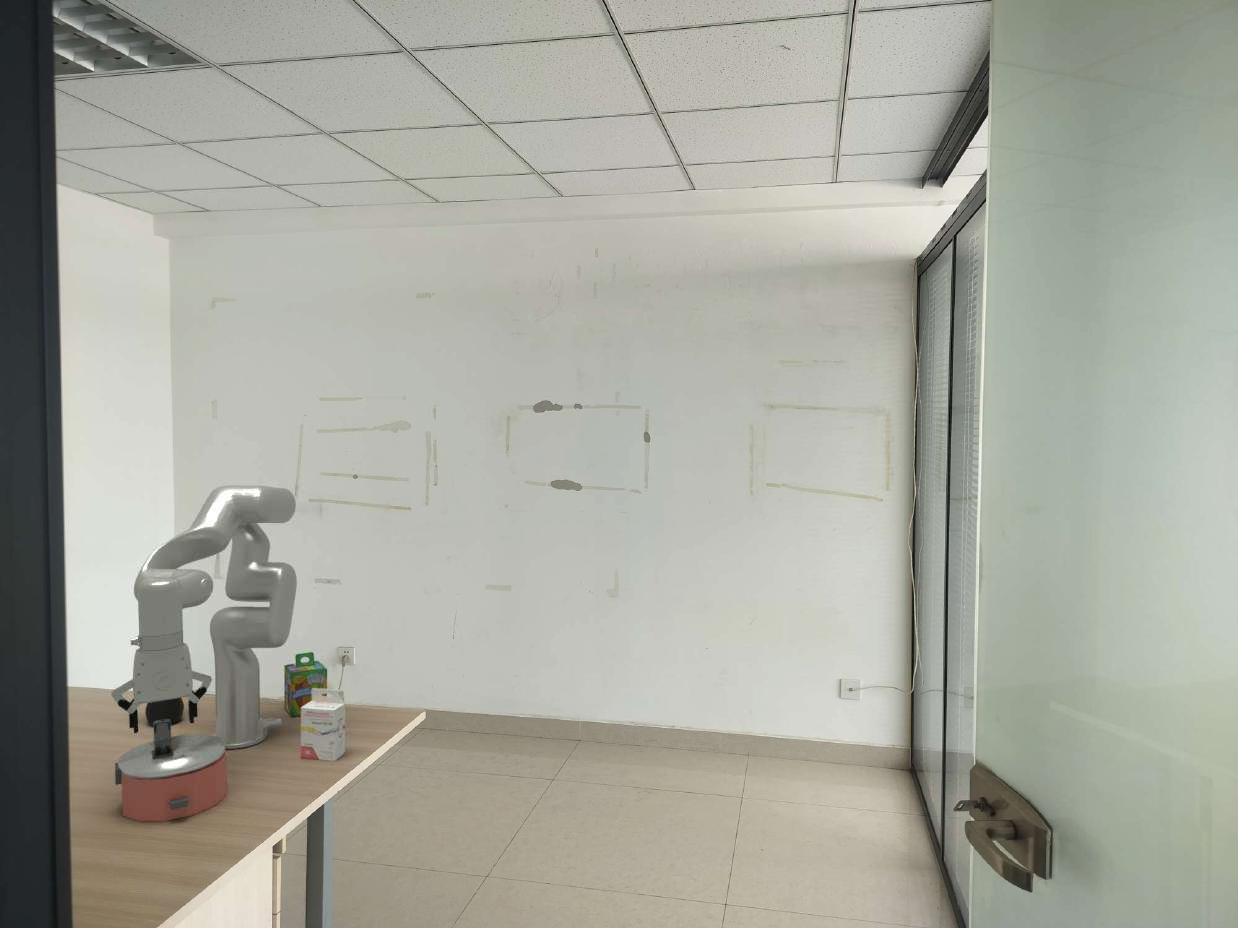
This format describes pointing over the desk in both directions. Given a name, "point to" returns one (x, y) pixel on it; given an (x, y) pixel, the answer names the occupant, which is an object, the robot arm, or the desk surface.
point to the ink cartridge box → (323, 726)
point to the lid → (171, 757)
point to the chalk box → (302, 682)
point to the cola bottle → (165, 710)
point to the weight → (162, 736)
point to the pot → (174, 793)
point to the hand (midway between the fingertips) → (164, 725)
